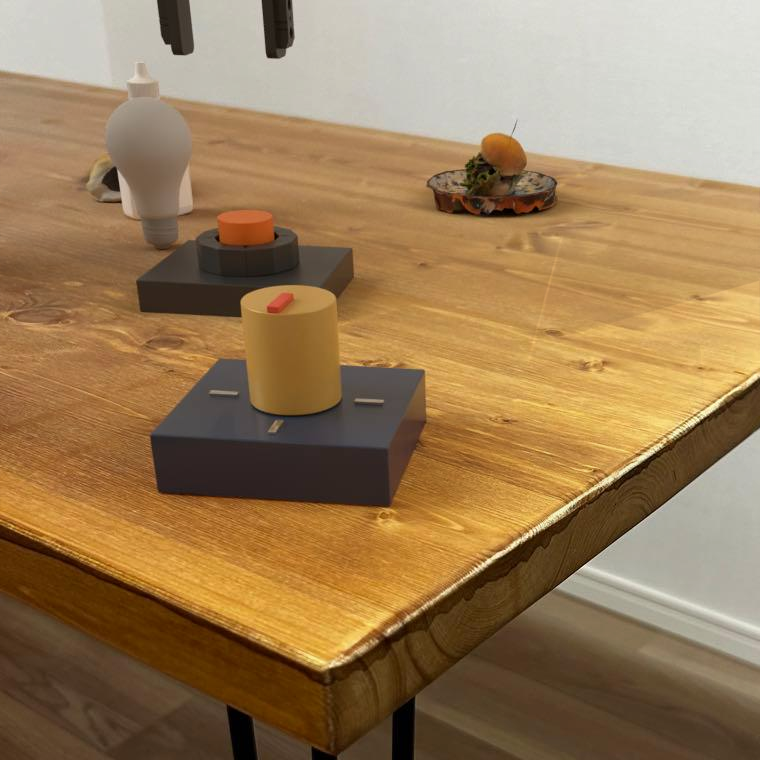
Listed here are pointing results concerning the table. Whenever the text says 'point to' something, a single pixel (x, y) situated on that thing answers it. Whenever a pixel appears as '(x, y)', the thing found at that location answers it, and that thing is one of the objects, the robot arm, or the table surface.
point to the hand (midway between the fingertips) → (229, 54)
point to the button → (245, 227)
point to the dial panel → (292, 440)
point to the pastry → (104, 180)
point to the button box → (238, 273)
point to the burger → (494, 180)
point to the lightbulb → (151, 162)
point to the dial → (292, 349)
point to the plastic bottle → (136, 88)
